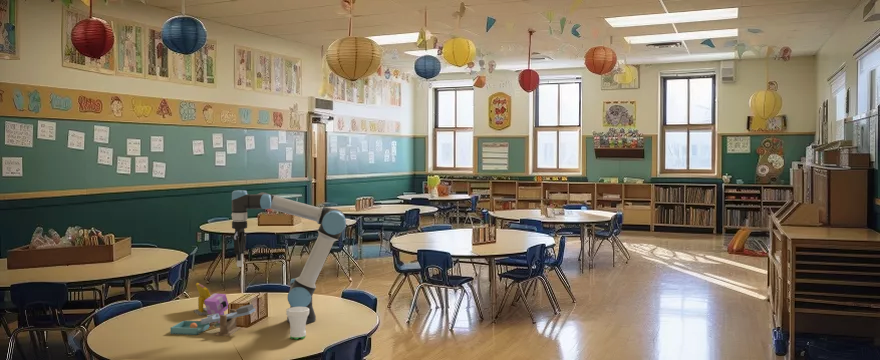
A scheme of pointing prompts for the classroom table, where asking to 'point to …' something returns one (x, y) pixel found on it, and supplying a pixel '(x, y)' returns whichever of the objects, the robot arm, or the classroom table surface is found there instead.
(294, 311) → the cup
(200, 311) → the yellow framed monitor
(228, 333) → the fulcrum
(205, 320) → the lever
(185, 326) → the tray
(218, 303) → the toy
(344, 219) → the robot arm
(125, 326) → the classroom table surface
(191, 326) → the ball
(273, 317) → the classroom table surface
